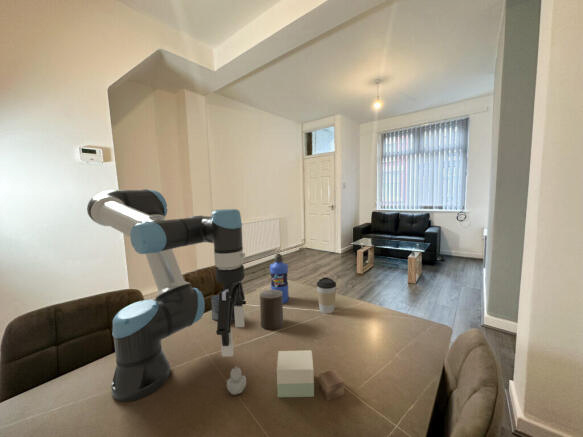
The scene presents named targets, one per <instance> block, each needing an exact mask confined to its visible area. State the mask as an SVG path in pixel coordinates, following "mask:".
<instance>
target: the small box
mask: <svg viewBox="0 0 583 437" xmlns="http://www.w3.org/2000/svg"><path fill="white" fill-rule="evenodd" d="M210 302H211V303H210V304H211V319H212V320H213V321H216V322H218V311H219V293H218V294H216V295H213V296H211V297H210ZM234 306H237V305H233V313H232V321H231V324H232V323H235V314H234Z"/></svg>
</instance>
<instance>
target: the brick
mask: <svg viewBox="0 0 583 437" xmlns="http://www.w3.org/2000/svg"><path fill="white" fill-rule="evenodd" d="M318 378H319V382H318V383H319V384H318V385H319V388H320V390H321V392H322V393H323V395H324V396H325V398H326V400H327V401H329V400H333V399H335V398H336V399H337V398H338V397H341V396H344V395H345V386H344V385H345V384H344V383H345V382H344V380H343V379H342V378H341V375H339V373H338V372H337V370H336V369H332V370H329V371H325V372H322V373H319V374H318Z"/></svg>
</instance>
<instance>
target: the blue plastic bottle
mask: <svg viewBox="0 0 583 437" xmlns="http://www.w3.org/2000/svg"><path fill="white" fill-rule="evenodd" d="M274 257H275V258H274V262H273V263H271V264H270V265H269V273H270V278H271V281H270V290H279V291H281V292H282V296H283V305H284V303H285V304H287V303H288V302H289V301H288V300H290V299H289V298H290V297H289V296H290V295H289V281H288V274H289V273H288V271H289V264H287V263H285V262H284V261H283V254H281V253H276V254H275V256H274ZM286 302H287V303H286Z"/></svg>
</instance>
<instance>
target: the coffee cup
mask: <svg viewBox="0 0 583 437" xmlns="http://www.w3.org/2000/svg"><path fill="white" fill-rule="evenodd" d="M316 287H317V300H318V309H319V312H320V311H321V312H320V313H322V314H325V313H330V314H333V313H334V312H335V303H336V292H337V291H336V287H337V283H336V281H335V280H334V279H332V278H329V277H328V276H327V277H322V278H320V279H319V280H318V281H317V282H316ZM333 311H334V312H333ZM332 312H333V313H332Z"/></svg>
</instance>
